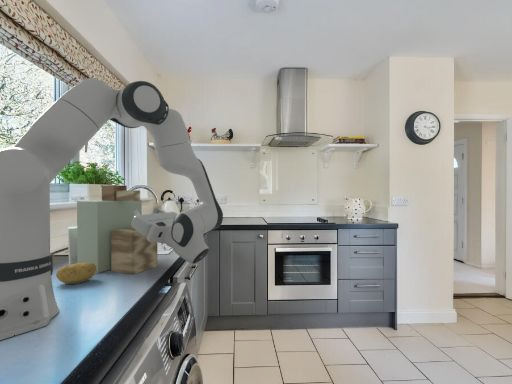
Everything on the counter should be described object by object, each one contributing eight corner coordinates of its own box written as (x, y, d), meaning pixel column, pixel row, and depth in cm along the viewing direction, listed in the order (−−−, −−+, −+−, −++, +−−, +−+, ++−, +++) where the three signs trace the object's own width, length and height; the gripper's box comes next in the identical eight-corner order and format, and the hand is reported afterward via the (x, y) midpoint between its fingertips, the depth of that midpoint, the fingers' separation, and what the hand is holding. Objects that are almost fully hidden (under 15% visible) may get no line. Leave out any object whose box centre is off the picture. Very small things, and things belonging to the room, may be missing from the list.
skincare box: (91, 261, 120) (91, 224, 120) (93, 264, 115) (93, 226, 115) (67, 264, 115) (67, 226, 115) (69, 268, 110) (68, 228, 110)
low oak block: (132, 274, 101) (131, 232, 101) (111, 270, 106) (111, 230, 106) (157, 266, 112) (157, 228, 112) (137, 263, 116) (137, 226, 116)
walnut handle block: (129, 201, 105) (129, 185, 105) (101, 200, 112) (101, 185, 112) (142, 200, 111) (142, 185, 111) (115, 200, 118) (115, 185, 118)
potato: (95, 283, 91) (95, 263, 91) (53, 288, 87) (53, 267, 87) (97, 277, 97) (97, 259, 97) (58, 281, 93) (58, 262, 93)
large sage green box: (97, 272, 103) (97, 201, 103) (77, 269, 108) (76, 201, 108) (141, 260, 121) (141, 199, 121) (122, 258, 126) (122, 199, 126)
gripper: (192, 220, 109) (169, 202, 114) (151, 226, 91) (125, 204, 96) (186, 234, 111) (163, 215, 116) (144, 242, 92) (119, 220, 98)
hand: (145, 210), depth 106 cm, fingers open, 8 cm apart
